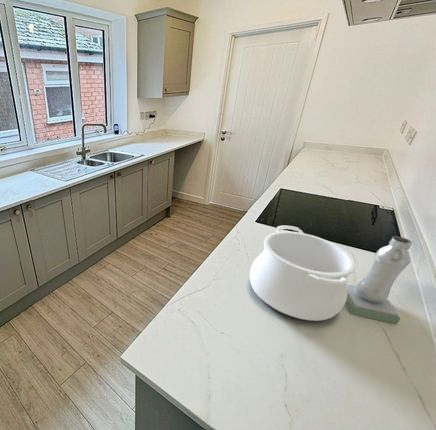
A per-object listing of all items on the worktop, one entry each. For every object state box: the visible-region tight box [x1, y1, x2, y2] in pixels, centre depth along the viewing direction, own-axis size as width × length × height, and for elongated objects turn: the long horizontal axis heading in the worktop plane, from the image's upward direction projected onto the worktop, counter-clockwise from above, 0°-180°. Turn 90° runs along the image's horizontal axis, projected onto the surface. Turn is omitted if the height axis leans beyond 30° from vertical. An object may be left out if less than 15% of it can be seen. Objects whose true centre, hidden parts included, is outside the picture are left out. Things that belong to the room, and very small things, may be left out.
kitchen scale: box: [344, 284, 401, 325], centre depth 77 cm, size 10×10×3 cm
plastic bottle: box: [356, 235, 413, 303], centre depth 72 cm, size 6×7×20 cm
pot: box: [249, 225, 357, 322], centre depth 78 cm, size 28×24×17 cm
